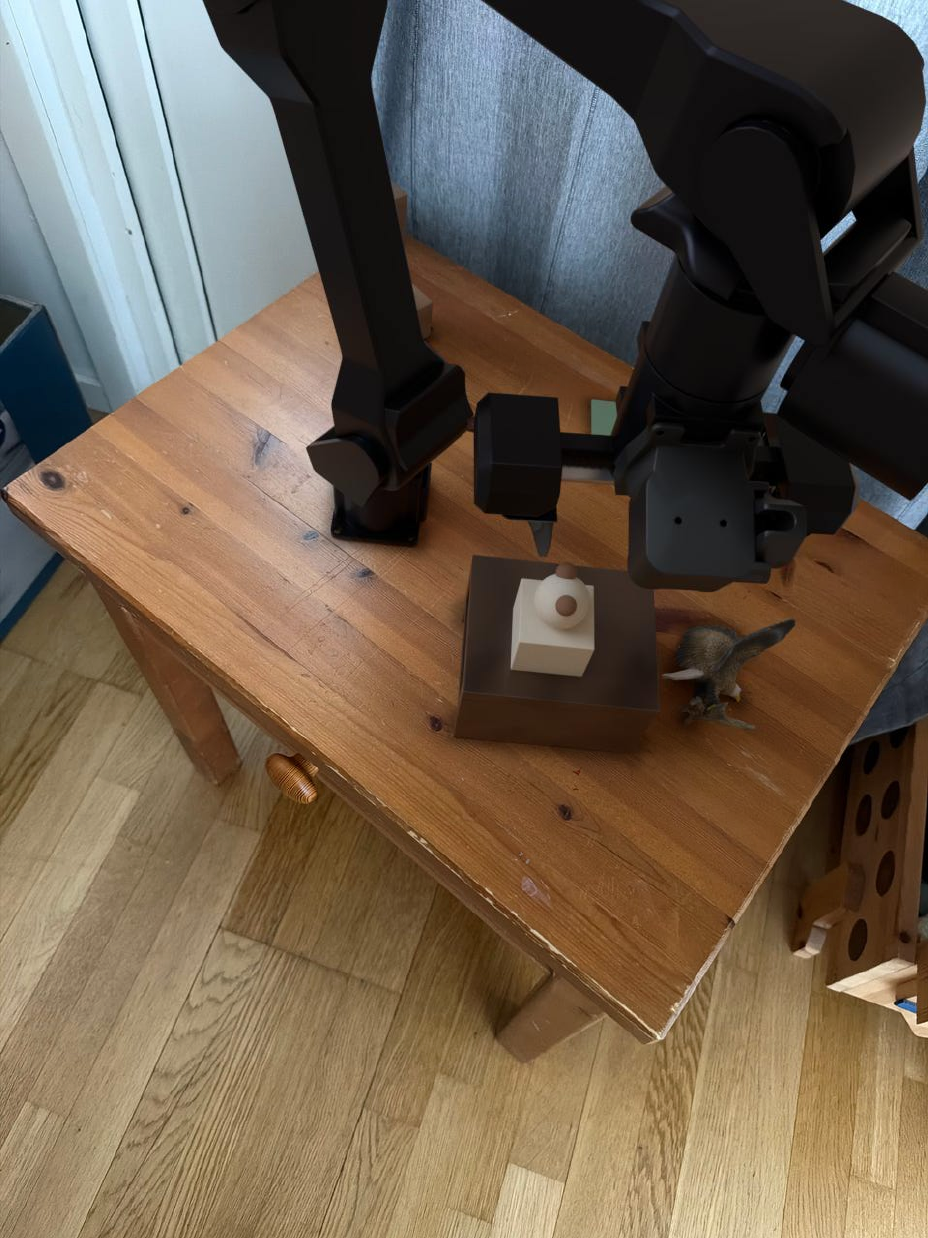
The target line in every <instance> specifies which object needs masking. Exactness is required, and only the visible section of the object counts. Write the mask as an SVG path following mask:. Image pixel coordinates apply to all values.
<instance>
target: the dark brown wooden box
mask: <svg viewBox="0 0 928 1238" xmlns="http://www.w3.org/2000/svg"><path fill="white" fill-rule="evenodd" d="M560 564H561V563H556V562H546V561H537V560H528V559H519V558H508V557H501V556H500V557H499V556H491V555H483V554H482V555H480V554H472V557H471V562H470V568H469V572H468V573H469V574H468V579H467V584H466V590H465V595H464V596H465V597H464V600H463V605H462V617H461V623H463V625H462V627H463V628H462V637H461V638H462V640H461V652H460V654H461V655H460V666H459V667H460V668H459V679H458V691H457V692H458V694H457V708H456V713H455V717H454V721H453V723H454V724H453V735H452V736H453V737H454V738H463V739H474V740H484V741H494V742H505V743H506V742H507V743H516V744H526V745H535V746H536V745H537V746H548V747H555V748H556V747H557V748H566V749H567V748H568V749H579V750H588V751H598V752H608V753H609V752H610V753H620V754H632V752H633V751H634V749H635V748H636V747H637V745H638V744H639V742H640V741H641V740H642V738H643V737H644V735H645V734H646V732H647V731H648V729H649V728H650V726H651V725H652V724H653V722H654V721H655V719H656V718H657V716H658V715H659V714H660V712H661V706H660V705H661V704H660V683H659V667H658V666H659V665H658V645H657V626H656V625H657V624H656V607H655V606H656V605H655V589H645V588H642V587H639V586H638V585H636V584H635V583H634V582H633V581H632V580H631V578H630V576H629V574H628V570H623V569H622V570H621V569H614V568H604V567H595V566H584V565H574V564H573V565H574V566H575V567H576V570H577V576H576V577H577V578H578V579H580V580H581V581H582V582H583V583H584V584H585V585H590V586H594V651H593V653H592V656H591V658H590V660H589V662H588V664H587V666H586V668H585V671H584V673H583V675H582V677H579V676H569V675H559V674H549V673H539V672H528V671H518V670H511V650H512V626H513V608H514V604H515V601H516V597H517V593H518V590H519V586H520V583H521V579H532V580H542V581H543V580H544V579H546V578H547V577H549V576H551V575H553V574H556V569H557V567H558V566H559V565H560Z"/></svg>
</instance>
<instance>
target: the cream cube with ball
mask: <svg viewBox="0 0 928 1238" xmlns="http://www.w3.org/2000/svg"><path fill="white" fill-rule="evenodd" d="M559 564H560V565H559V566H558V567H557V569H556V574H553V575H551V576H549V577H547V578H546V579H544V580H543V581H542V580H532V579H521V583H520V586H519V590H518V593H517V597H516V601H515V604H514V608H513V626H512V650H511V670H518V671H528V672H539V673H549V674H559V675H569V676H579V677H582V675H583V673H584V671H585V668H586V666H587V664H588V662H589V660H590V658H591V656H592V653H593V651H594V586H590V585H585V584H584V583H583V582H582V581H581V580H580V579H578V578H577V577H576V576H577V570H576V567H575V566H574V564H573V563H571V562H569V561H565V562H561V563H559Z"/></svg>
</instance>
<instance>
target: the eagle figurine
mask: <svg viewBox="0 0 928 1238" xmlns="http://www.w3.org/2000/svg"><path fill="white" fill-rule="evenodd" d="M796 625H797V624H796V619H795V618H791V617H790V618H788V619H784V620H781V621H779V622H775V623H773V624H771V625H767V626H764V627H762V628H760V629H758V630H755V631H753V632H751V633H748V634H747V635H745V636H744V637H742V638H741V637H739V636H737V632H736V631H735V630H730V628H729V627H728V626H722V627H721V626H720V625H719V624H713V625H712V626H709V624H704V625H703V626H702V625H700V624H699V625H696V626H693V627H690V628H688V630H686V631H685V633H684V635H683V636H682V640H681V641H680V642H679V645H678V647H676V649H675V651H674V656H673V657H674V661H673V662H674V663H675V664H676V666H680V668H681V669H684V670H680V671H676V672H672V673H662V675H661V678H662V679H670V680H673V681H679V680H690V681H692V685H693V687H692V689H693V690H692V699H691V700H690V701H689V702H688V703H689V704H688V705H689V706H687V705H681V706H679V707H678V710H679V712H680V713H686V712H687V713H688V716H686V717H687V718H685V719H684V720H683V724H684V725H689V724H691V723H693V722H712V723H716V724H719V725H724V726H728V727H731V728H735V729H739V730H743V731H755V730H756V726H755V725H753V724H750V723H747V722H745V721H743V720H739V719H738V718H732V717H730V716H728V715H727V713H726V709H727V707H728V706H729V702H728V701H726V702H721V700H720V697H719V696H720V695H724V696H730V697H731V698H734V700H736V702H737V703H738V702H740V700H741V697H740V695H741V693H742V689H741V688H740V686H739V685H738V684H737V682H736V678H737V675H738V673H739V672H740V671H741V669H742V668H743V667H744V666H745V665H746V664H747V663H749V662H750V661H752V660H754V659H756V658H757V657H759V656H760V655H761V654H762V653H763V652H764V651H766V650H768V649H771V648H772V647H774V646H776V645H777V644H779V643H780V642H782V641H783V640H784V639H785V638H786V637H787V635H788V634H789V633H790V632H791V631H792V630H793V629H794V627H796Z"/></svg>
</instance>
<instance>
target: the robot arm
mask: <svg viewBox="0 0 928 1238" xmlns="http://www.w3.org/2000/svg"><path fill="white" fill-rule="evenodd" d="M201 1H202V3H203V7H204V8H205V11H206V13H207V16H208V18H209V21H210V24H211V26H212V28H213V31H214V34H215V36H216V38H217V41H218V44H219V46H220V47H221V49H222V50H223V51H224V53H226V54H227V56H228V57H229V58H230V59H231V60H232V61H233V62H234V63H235V64H236V65H237V66H238V67H239V68H240V69H241V70H242V71H243V72H244V73H245V75H247V77H248V78H249V79H250V80H251V81H252V82H253V83H254V84H255V85H256V87H258V88H259V89H260V90H261V91H262V93H263V94H265V96H266V97H267V98H268V100H269V103H270V104H271V107H272V110H273V114H274V117H275V120H276V125H277V128H278V131H279V134H280V135H279V136H280V138H281V141H282V146H283V149H284V152H285V155H286V159H287V164H288V167H289V170H290V174H291V178H292V181H293V185H294V188H295V190H296V192H295V193H296V195H297V199H298V203H299V206H300V209H301V212H302V217H303V220H304V224H305V228H306V231H307V234H308V237H309V241H310V245H311V248H312V251H313V255H314V259H315V263H316V266H317V270H318V274H319V278H320V280H321V285H322V288H323V291H324V294H325V295H324V296H325V298H326V303H327V305H328V308H329V312H330V316H331V319H332V323H333V326H334V330H335V334H336V337H337V340H338V344H339V348H340V353H341V361H340V365H339V370H338V374H337V377H336V382H335V384H334V385H335V386H334V389H333V394H332V397H331V403H330V409H331V415H332V421H333V426H332V427H330V428H329V429H328V430H327V431H325V432H324V433H323V434H321V435H320V436H318V437H317V438H316V439H315V440H313V441H312V442H310V443H309V444H308V445H307V446H306V447H305V450H306V453H307V456H308V458H309V461H310V464H311V466H312V469H313V471H314V472H315V473H316V474H317V475H318V476H320V477H321V478H323V479H324V480H325V481H327V482H328V483H329V484H330V485H332V486H333V487H332V488H333V491H332V492H333V505H334V506H333V513H332V518H331V524H330V536H331V537H332V538H334V539H337V540H338V539H339V540H347V541H356V542H365V543H375V544H382V545H383V544H385V545H395V546H402V547H403V546H404V547H415V546H417V545H418V542H419V535H420V525H421V523H425V522H426V521H427V517H428V508H429V501H430V500H429V499H430V490H431V489H430V488H431V479H432V469H433V463H432V462H433V461H435V459H437V458H438V457H439V456H440V455H442V454H443V453H444V452H446V450H447V449H448V448H450V447H451V446H452V445H453V444H455V443H456V442H457V441H458V440H460V438H462V437H463V436H464V434H465V433H466V432H467V429H468V421H469V420H470V419H471V418H472V417H473V418H474V420H473V505H474V506H476V507H477V508H478V509H479V510H480V511H481V512H483V514H485V515H486V514H487V515H499V516H502V517H503V518H504V519H505V520H508V521H517V522H518V521H519V522H527V524H528V525H529V527H530V530H531V531H530V532H531V534H532V537H533V541H534V544H535V548H536V551H537V555H538V557H539V558H547V556H548V553H549V551H550V548H551V544H552V537H553V529H554V524H557V523H558V509H557V505H558V502H559V499H560V497H561V488H562V483H572V484H573V483H575V484H588V485H589V484H592V485H604V486H605V485H606V486H613V487H614V495H615V496H624V497H625V496H627V497H628V498H629V501H628V542H627V543H628V544H627V545H628V546H627V547H628V550H627V551H628V552H627V557H626V558H627V560H626V568H627V570H626V571H628V574H629V576H630V578H631V580H632V581H633V582H634V583H635V584H636V585H638V586H639V587H642V588H645V589H654V590H672V591H673V590H675V591H692V592H693V591H694V592H699V593H715V592H717V591H720V590H721V589H723V588H725V587H727V586H729V585H731V584H733V583H740V584H741V583H742V584H759V585H766V584H768V583H769V581H770V579H771V575H772V569H777V570H778V569H781V568H783V567H785V566H787V565H788V564H790V563H791V562H792V561H793V560H794V558H795V557H796V555H797V553H798V551H799V550H800V548H801V546H802V545H803V544H804V541H805V540H806V539H807V537H810V536H811V535H812V534H813V535H829V536H834V535H836V534H837V532H839V530H840V529H841V528H842V527H843V526H844V525H845V524H846V522H847V521H848V520H849V518H850V517H851V516H852V515H853V514H854V512H855V511H856V510H857V508H858V505H859V499H860V494H861V488H860V484H859V481H858V478H857V473H856V469H855V468H857V469H858V470H861V472H863V473H865V474H867V475H868V476H870V477H871V478H873V479H874V480H876V481H877V482H879V483H881V484H882V485H884V486H885V487H887V488H888V489H890V490H892V491H893V492H895V493H896V494H898V495H899V496H901V497H903V498H905V499H906V500H907V501H908V502H912V501H914V499H915V498H916V497H917V496H918V495H919V494H920V493H921V492H922V491H923V489H924V488H925V487H926V486H927V485H928V289H926V288H924V287H923V286H921V285H920V284H917V283H916V282H914V281H912V280H910V279H909V278H907V277H905V276H903V275H901V274H900V273H898V271H899V270H900V269H901V267H902V265H903V264H904V263H905V261H906V259H907V258H908V257H909V256H911V255H912V253H913V252H914V251H915V250H916V249H917V248H918V247H919V246H920V245H921V244H922V242H923V240H924V228H923V218H922V210H921V208H922V207H921V201H920V200H921V199H920V191H919V181H918V172H917V161H916V154H915V153H916V152H915V144H916V143H915V142H916V141H917V138H918V137H919V135H920V133H921V131H922V127H923V121H924V115H925V111H926V105H927V94H926V86H925V77H924V72H923V71H924V69H925V65H926V64H925V60H924V57H923V55H922V54H921V51H920V49H919V48H918V46H917V44H916V43H915V41H914V40H913V38H912V37H910V36H909V35H908V33H906V31H905V30H904V29H903V28H902V27H901V26H900V25H898V24H897V23H896V22H894V21H892V20H890V19H889V18H886V17H885V16H883V15H880V14H878V13H876V12H873V11H871V10H868V9H865V8H863V7H861V6H858V5H857V4H853V3H852V2H849V1H846V0H480V1H481V2H483V3H484V4H486V6H488V8H491V9H492V10H493V11H495V12H496V13H497V14H498V15H500V16H501V17H502V18H504V19H505V20H507V21H508V22H509V23H511V24H512V25H513V26H514V27H516V28H517V29H519V30H520V31H521V32H523V33H524V34H525V35H527V36H528V37H529V38H531V39H532V40H534V41H535V42H537V44H539V45H541V46H542V47H543V48H545V50H547V51H548V52H550V53H551V54H553V55H554V56H555V57H557V58H558V59H560V61H562V62H563V63H565V64H566V65H567V66H568V67H570V68H572V69H573V70H574V71H575V72H577V73H578V74H579V75H581V76H582V77H583V78H584V79H586V80H588V81H589V82H590V83H591V84H593V85H594V86H596V87H597V88H599V90H601V91H603V93H605V94H607V95H608V96H609V97H610V98H611V99H612V100H613V101H614V102H615V103H616V104H617V105H618V106H619V107H620V108H621V109H622V110H623V111H624V112H625V113H626V114H627V116H628V117H630V118H631V120H632V121H633V122H634V124H635V126H636V129H637V131H638V134H639V136H640V139H641V141H642V144H643V147H644V148H645V151H646V154H647V156H648V159H649V161H650V163H651V166H652V169H653V171H654V173H655V174H656V176H657V177H658V179H659V180H660V181H661V182H662V183H663V184H664V185H665V186H663V187H662V188H661V189H660V190H658V191H656V193H654V194H653V195H652V196H651V197H649V198H648V199H647V200H646V201H644V202H643V203H642V204H640V205H639V206H638V207H637V208H635V209H634V210H633V211H632V212H631V214H630V223H631V225H632V227H633V228H634V229H636V230H637V231H639V232H641V233H642V234H644V235H646V236H647V237H649V238H650V239H652V240H653V241H655V242H657V243H659V244H661V245H662V246H664V247H666V249H669V250H670V251H672V252H673V253H674V254H673V258H672V259H671V262H670V265H669V268H668V271H667V274H666V277H665V280H664V282H663V285H662V288H661V291H660V293H659V296H658V300H657V301H656V305H655V308H654V311H653V313H652V316H651V318H650V321H648V320H642V321H641V324H640V326H639V330H638V333H637V335H636V343H637V350H638V356H637V358H636V361H635V364H634V367H633V370H632V373H631V375H630V378H629V381H628V384H627V385H620V386H619V388H618V391H617V394H616V396H615V400H614V402H616V411H617V418H616V421H615V423H614V426H613V429H612V432H611V435H596V434H591V433H579V432H566V431H565V432H564V431H561V422H560V406H559V397H556V396H545V395H531V394H518V393H506V392H505V393H504V392H487V393H486V394H485V395H484V396H483V397H481V399H479V400H478V401H477V402H476V405H475V412H474V410H473V409H472V407H471V405H470V402H469V398H468V395H467V388H466V372H465V370H464V369H463V368H462V366H461V365H459V364H456V363H450V362H448V361H447V360H445V359H444V357H442V356H441V354H439V353H438V352H437V351H436V350H435V349H433V347H431V345H429V344H428V342H426V340H425V339H424V338H423V335H422V332H421V327H420V322H419V317H418V312H417V307H416V302H415V297H414V292H413V287H412V284H413V282H412V278H411V272H410V267H409V263H408V258H407V253H406V246H405V247H404V243H403V238H402V233H401V228H400V223H399V218H398V213H397V208H396V203H395V198H394V193H393V188H392V183H391V180H392V179H391V174H390V168H389V165H388V164H389V163H388V158H387V154H386V147H385V144H384V140H383V134H382V129H381V124H380V119H379V113H378V109H377V104H376V99H375V94H374V89H373V80H372V77H373V70H374V68H375V67H374V66H375V62H376V58H377V53H378V50H379V44H380V41H381V36H382V31H383V28H384V23H385V18H386V14H387V10H388V5H389V4H388V2H389V1H388V0H201ZM850 213H852V215H853V216H854V219H855V221H853V223H851V225H849V226H848V227H847V228H846V229H845V230H844V231H843V232H842V233H841V234H840V235H839V236H838V237H837V238H836V239H835V240H834V241H833V242H831V244H830V245H828V246H827V248H825V249H824V250H823V246H822V240H823V239H824V238H825V237H826V236H827V235H828V234H829V233H830V232H831V231H832V230H833V229H834V228H835V227H837V226H838V224H839V223H841V221H843V220H844V219H845V218H846V217H847V216H848V215H849V214H850ZM796 337H797V338H799V339H801V340H802V341H803V343H802V344H801V346H800V348H799V349H798V350H797V352H796V354H795V355H794V357H793V358H792V360H791V362H790V363H789V365H788V367H787V368H786V371H785V372H784V374H783V376H782V378H781V381H780V383H779V388H781V389H782V390H784V391H785V392H786V394H785V396H784V397H783V400H782V401H781V403H780V405H779V407H778V410H777V412H768V411H767V412H766V411H764V409H763V405H762V399H763V398H764V396H765V394H766V392H767V390H768V389H769V386H770V385H771V383H772V381H773V380H774V378H775V376H776V374H777V372H778V371H779V368H780V366H781V364H782V363H783V362H784V359H785V358H786V355H787V353H788V352H789V350H790V348H791V346H792V344H793V343H794V341H795V339H796ZM336 531H338V532H336ZM410 539H412V540H410Z"/></svg>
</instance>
